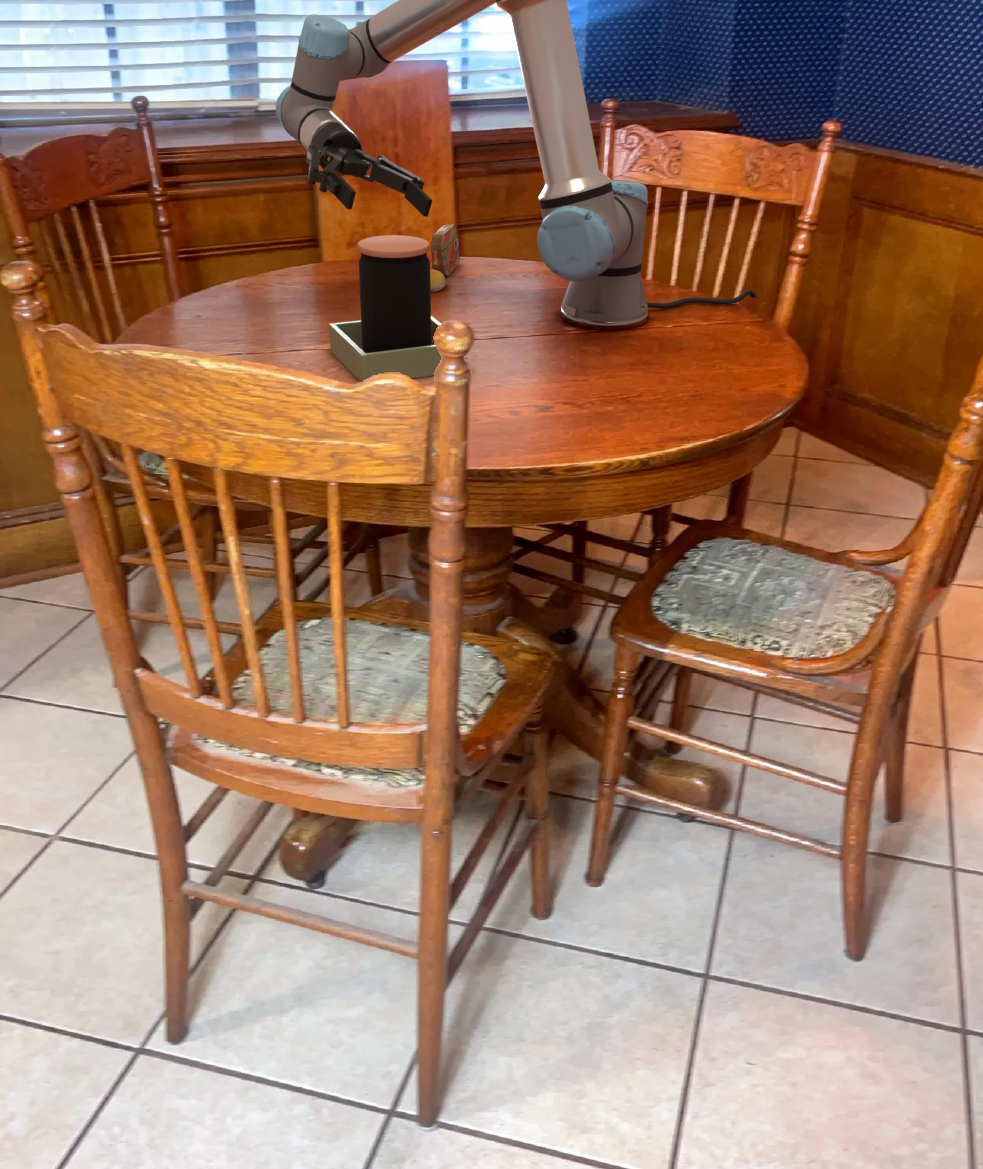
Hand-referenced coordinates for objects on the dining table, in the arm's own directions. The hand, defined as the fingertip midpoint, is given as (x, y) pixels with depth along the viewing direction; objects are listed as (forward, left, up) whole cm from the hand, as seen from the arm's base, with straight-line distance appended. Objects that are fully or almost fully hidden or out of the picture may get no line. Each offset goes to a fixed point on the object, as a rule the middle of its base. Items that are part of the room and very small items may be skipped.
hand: (391, 204), depth 158 cm
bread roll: (-17, -31, -22) cm, 42 cm away
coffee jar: (+2, +7, -22) cm, 23 cm away
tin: (-26, -41, -22) cm, 53 cm away
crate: (+2, +7, -22) cm, 23 cm away
